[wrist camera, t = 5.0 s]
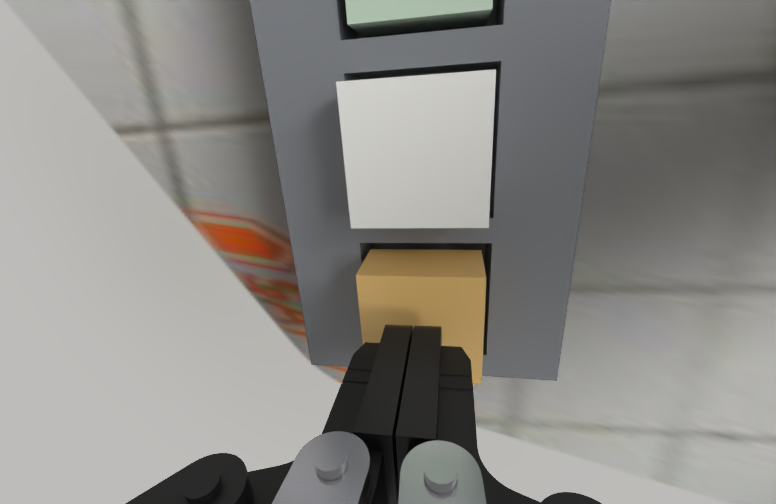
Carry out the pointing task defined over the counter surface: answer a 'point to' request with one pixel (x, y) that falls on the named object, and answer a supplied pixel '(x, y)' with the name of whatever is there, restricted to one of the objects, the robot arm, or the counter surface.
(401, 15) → the sage green key
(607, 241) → the counter surface
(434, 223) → the off-white key
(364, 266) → the amber key
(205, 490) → the robot arm
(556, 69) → the keypad
